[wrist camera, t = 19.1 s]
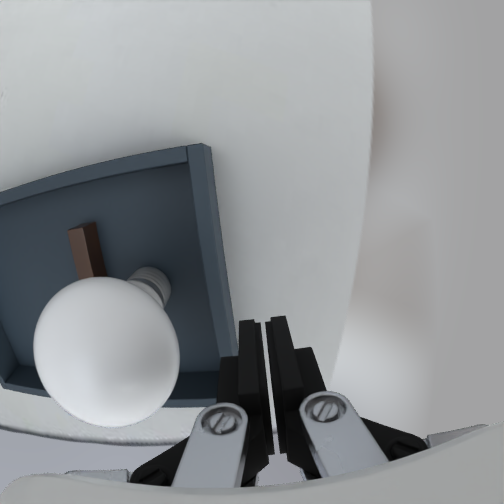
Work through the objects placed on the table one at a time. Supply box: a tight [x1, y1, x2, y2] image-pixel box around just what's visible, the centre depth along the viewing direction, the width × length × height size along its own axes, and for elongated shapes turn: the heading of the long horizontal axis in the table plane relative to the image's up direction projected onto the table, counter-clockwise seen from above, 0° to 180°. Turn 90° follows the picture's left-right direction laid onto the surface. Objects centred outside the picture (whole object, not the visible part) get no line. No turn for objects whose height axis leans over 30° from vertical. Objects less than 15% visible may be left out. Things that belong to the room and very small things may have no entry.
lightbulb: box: [33, 267, 180, 428], centre depth 13 cm, size 6×6×11 cm
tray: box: [0, 143, 239, 408], centre depth 18 cm, size 22×16×4 cm
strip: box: [67, 222, 108, 280], centre depth 18 cm, size 1×9×2 cm, turn 6°
